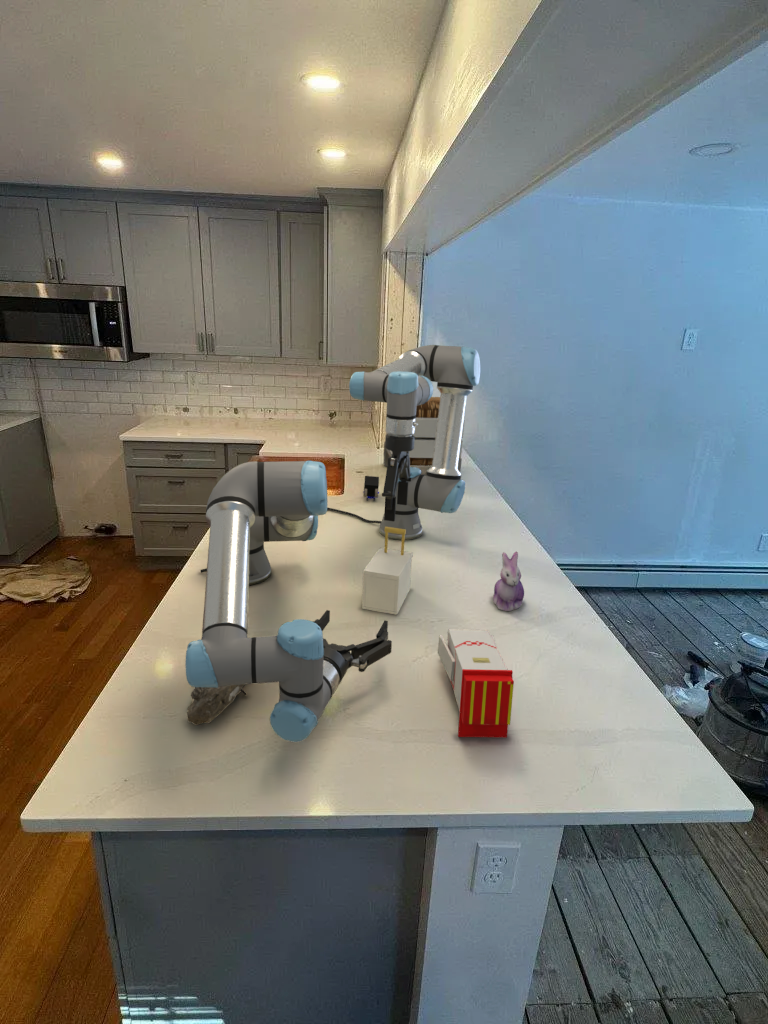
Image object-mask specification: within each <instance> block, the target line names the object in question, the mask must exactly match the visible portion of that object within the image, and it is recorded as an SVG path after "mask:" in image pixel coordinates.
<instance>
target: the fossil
mask: <svg viewBox="0 0 768 1024" xmlns="http://www.w3.org/2000/svg"><path fill="white" fill-rule="evenodd" d="M244 686H245V684H240V685H229V686H219V687H218V688H215V687H193V689H192V692H191V693H190V696H191V698H192V702H191V704H190V705H189V706H188V707H187V709H186V710H187V711H186V717H187V722H188V723H192V724H194V725H195V726H196V725H202V724H206V723H208V724H211V722H213V721H214V720H215V719H216V717H218V716H219V715H220V714H222V713H223V711H225V709H226V708H227V707H228V706H230V704H232V703H233V702H234V700H235V699H236V696H237V695H239V694H240V692H241V693H242V695H244V696H248V693H247V692H246V691H245V690H244V688H243V687H244Z"/></svg>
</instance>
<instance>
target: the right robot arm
mask: <svg viewBox="0 0 768 1024" xmlns="http://www.w3.org/2000/svg"><path fill="white" fill-rule="evenodd" d="M480 380H481V359H480V355H479V352H478V350H477V349H476V348H474V347H468V346H459V345H457V346H455V345H441V344H440V345H438V344H428V345H427V344H426V345H421V346H418V347H415V348H412V349H409V350H407V351H404V352H403V353H402V354H401V355H400V356H399V357H398V358H397V359H395V360H394V361H392V362H389V363H386V364H385V365H383V366H381V367H379V368H377V369H375V370H372V371H370V372H368V371H367V372H366V371H355V372H353V373H352V375H351V376H350V379H349V385H348V386H349V387H348V388H349V389H348V390H349V394H350V396H351V397H352V399H354V400H360V401H363V402H365V401H367V402H374V403H375V402H377V403H386V412H387V414H386V413H385V414H386V415H385V437H384V442H385V448H386V449H387V450H391V451H392V457H389V458H388V465H387V466H386V473H385V480H384V485H383V492H381V497H383V498H384V511H383V515H382V519H381V520H370V519H367V518H364V517H362V516H360V515H358V514H355V513H352V512H348V511H345V510H340V509H336V508H331V507H328V506H327V511H331V512H335V513H339V514H343V515H348V516H350V517H354V518H356V519H359V520H361V521H362V522H365V523H367V524H379V525H378V533H379V534H380V535H381V536H382V537H384V538H385V531H384V530H385V527H392V528H399V529H406V534H405V541H410V540H415V539H418V538H420V537H421V536H422V535H423V525H422V524H421V518H420V515H419V509H420V510H427V511H433V512H438V513H441V514H443V513H445V514H454V513H456V512H457V511H458V509H459V508H460V506H461V504H462V502H463V499H464V495H465V490H466V481H465V480H463V479H462V473H460V472H459V470H458V461H459V453H460V445H461V440H462V439H463V438H462V430H463V423H464V424H465V421H464V420H465V416H466V415H465V414H466V406H467V401H468V400H467V399H468V396H469V395H470V394H471V393H472V392H473V389H474V387H476V386H478V385H479V384H480ZM433 383H436V389H437V390H438V391H439V393H440V396H439V397H440V404H439V412H438V421H437V429H436V437H435V445H434V453H433V461H432V465H430V466H429V468H428V469H427V470H426V473H425V474H424V473H423V474H422V470H421V468H419V467H416V466H410V459H409V451H412V450H413V449H414V440H415V437H414V435H412V434H414V433H415V426H417V425H418V424H417V423H416V422H415V420H416V408H417V406H418V405H421V404H422V405H423V404H425V403H426V402H427V401H428V400H429V399H430V398H431V397H433V395H434V385H433ZM386 433H388V434H386ZM388 539H389V540H395V541H402V534H395V533H388Z"/></svg>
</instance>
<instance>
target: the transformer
mask: <svg viewBox="0 0 768 1024" xmlns="http://www.w3.org/2000/svg"><path fill="white" fill-rule="evenodd" d="M439 404H440V396H432V397H431V398H430V399H429V400H428V401H427V402H426V403H425V404H423V405H422V404H421V405H418V406H417V408H416V420H415V422H416V423H417V424H418V425H417V426H415V433H414V434H412V435H414V437H415V440H414V449H413V450H412V451H409V459H410V467H417V466H418V467H431V466H432V461H433V453H434V445H435V437H436V429H437V421H438V412H439ZM385 414H387V411H386V413H385ZM464 429H465V419H464V423H463V430H462V438H461V445H460V453H459V461H458V470H459V472H460V473H461V472H462V461H463V460H462V453H463V442H464V441H463V440H462V439H463V438H464V431H465V430H464ZM386 434H388V433H386V432H385V435H386ZM389 457H392V451H391V450H387V449H386V448H385V441H384V442H383V466H384V467H387V465H388V458H389ZM461 474H462V473H461Z"/></svg>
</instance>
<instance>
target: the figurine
mask: <svg viewBox="0 0 768 1024" xmlns="http://www.w3.org/2000/svg"><path fill="white" fill-rule="evenodd" d="M501 558H502V559H501V560H502V568H501V570H500V574H499V575H500V579H498V580H497V581H496V582H495V584H494V588H493V598H492V600H493V604H494V605H495V606H496V607H497V609H498V610H500V611H504V612H505V611H506V612H512V611H513V610H518V609H519V608H521V605H522V604H523V601H524V598H525V589H524V585H523V583H522V581H521V578H522V573H521V570H520V568H519V566H518V560H519V552H518V551H515V552H514V553H513V554H512V556H511V558H509V557H508V555H507V553H506V552H505V551H503V552H502V553H501Z"/></svg>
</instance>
